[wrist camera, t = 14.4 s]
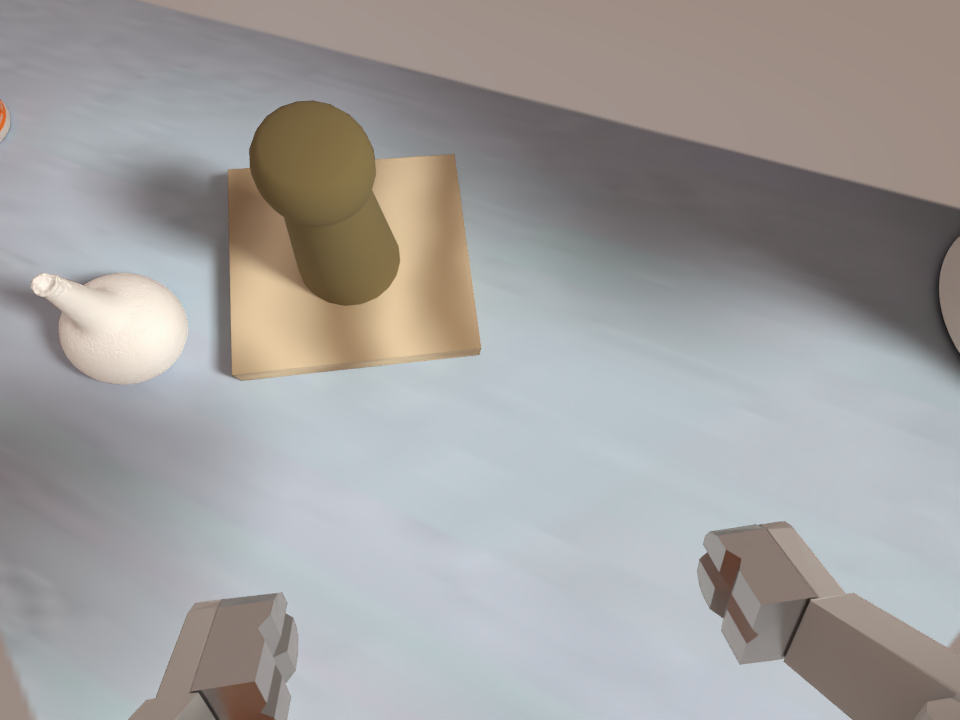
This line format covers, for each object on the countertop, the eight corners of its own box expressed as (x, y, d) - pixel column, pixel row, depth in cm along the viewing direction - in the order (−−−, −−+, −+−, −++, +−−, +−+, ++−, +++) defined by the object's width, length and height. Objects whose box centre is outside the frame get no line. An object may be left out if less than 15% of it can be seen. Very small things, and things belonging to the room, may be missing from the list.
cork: (288, 224, 32) (213, 90, 22) (386, 203, 33) (361, 63, 22) (309, 317, 31) (241, 221, 20) (411, 291, 32) (397, 187, 21)
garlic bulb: (219, 332, 32) (163, 269, 25) (135, 412, 30) (47, 369, 23) (142, 271, 33) (65, 192, 25) (55, 345, 31) (-57, 282, 23)
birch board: (453, 168, 36) (454, 154, 34) (479, 354, 33) (481, 348, 31) (236, 183, 34) (227, 169, 33) (241, 380, 31) (232, 374, 30)
